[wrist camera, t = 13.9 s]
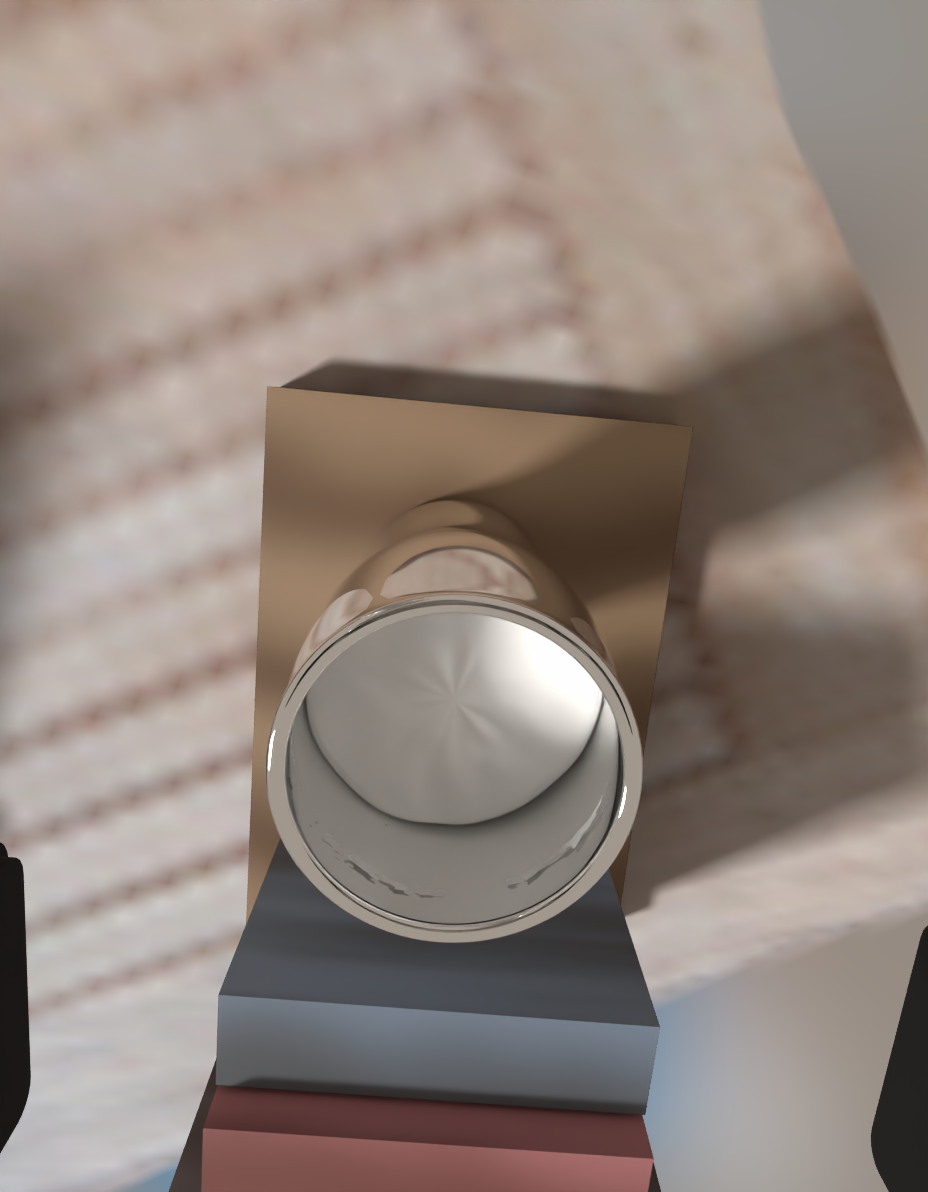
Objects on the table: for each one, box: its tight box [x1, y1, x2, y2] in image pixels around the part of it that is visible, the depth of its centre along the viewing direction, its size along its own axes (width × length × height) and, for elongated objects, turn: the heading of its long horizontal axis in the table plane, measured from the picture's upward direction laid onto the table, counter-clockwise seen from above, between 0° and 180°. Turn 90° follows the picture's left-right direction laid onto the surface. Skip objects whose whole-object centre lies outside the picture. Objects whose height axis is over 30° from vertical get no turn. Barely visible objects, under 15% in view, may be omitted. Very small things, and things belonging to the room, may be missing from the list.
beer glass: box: [266, 499, 643, 943], centre depth 22 cm, size 7×7×15 cm
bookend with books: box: [169, 387, 693, 1192], centre depth 24 cm, size 20×14×16 cm
